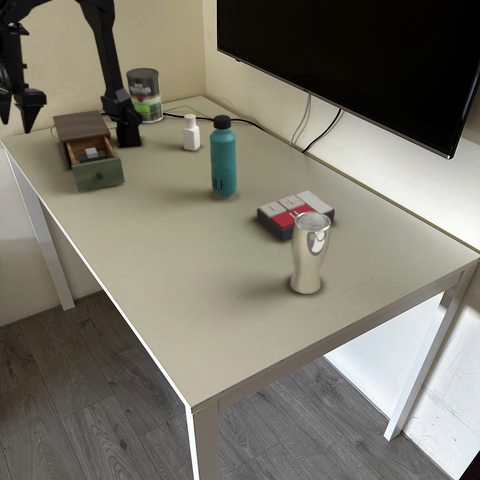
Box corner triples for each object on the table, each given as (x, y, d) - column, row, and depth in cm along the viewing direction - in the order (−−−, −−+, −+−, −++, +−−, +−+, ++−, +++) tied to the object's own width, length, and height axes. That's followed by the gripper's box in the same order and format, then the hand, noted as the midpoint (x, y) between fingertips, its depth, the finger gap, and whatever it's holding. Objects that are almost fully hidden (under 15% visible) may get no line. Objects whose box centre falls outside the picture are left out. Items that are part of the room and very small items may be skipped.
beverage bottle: (238, 189, 124) (237, 111, 110) (235, 202, 120) (234, 122, 106) (213, 188, 125) (210, 110, 111) (210, 201, 120) (205, 121, 106)
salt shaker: (183, 149, 142) (180, 117, 135) (189, 144, 145) (186, 112, 138) (195, 151, 141) (193, 119, 134) (201, 146, 143) (199, 114, 137)
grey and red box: (256, 205, 111) (308, 187, 116) (256, 221, 114) (307, 202, 119) (281, 228, 104) (336, 207, 109) (281, 244, 107) (334, 223, 112)
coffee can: (158, 124, 156) (153, 78, 146) (128, 122, 157) (121, 77, 147) (167, 112, 163) (162, 68, 153) (138, 111, 164) (131, 66, 154)
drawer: (126, 184, 125) (121, 160, 120) (79, 193, 121) (72, 169, 117) (111, 155, 137) (107, 132, 132) (68, 163, 134) (62, 140, 129)
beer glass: (285, 274, 98) (290, 211, 88) (318, 272, 99) (327, 209, 88) (290, 296, 93) (297, 232, 83) (325, 294, 94) (335, 230, 83)
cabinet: (115, 161, 136) (110, 132, 131) (68, 169, 133) (60, 140, 127) (103, 137, 149) (98, 109, 143) (60, 144, 145) (52, 116, 139)
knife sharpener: (106, 164, 131) (103, 146, 127) (109, 169, 129) (105, 151, 125) (81, 168, 129) (76, 150, 125) (83, 174, 127) (78, 155, 123)
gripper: (-50, 47, 105) (-38, 122, 113) (-3, 62, 97) (6, 141, 105) (-2, 50, 113) (6, 119, 121) (45, 64, 105) (50, 137, 113)
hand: (16, 129), depth 115 cm, fingers open, 9 cm apart
